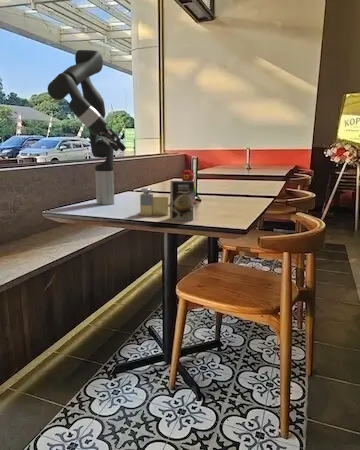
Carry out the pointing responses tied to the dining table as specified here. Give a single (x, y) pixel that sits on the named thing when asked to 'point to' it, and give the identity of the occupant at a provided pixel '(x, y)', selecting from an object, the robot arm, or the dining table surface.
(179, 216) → the coffee box
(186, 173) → the stacking bear
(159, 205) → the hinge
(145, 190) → the pin
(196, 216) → the dining table surface
